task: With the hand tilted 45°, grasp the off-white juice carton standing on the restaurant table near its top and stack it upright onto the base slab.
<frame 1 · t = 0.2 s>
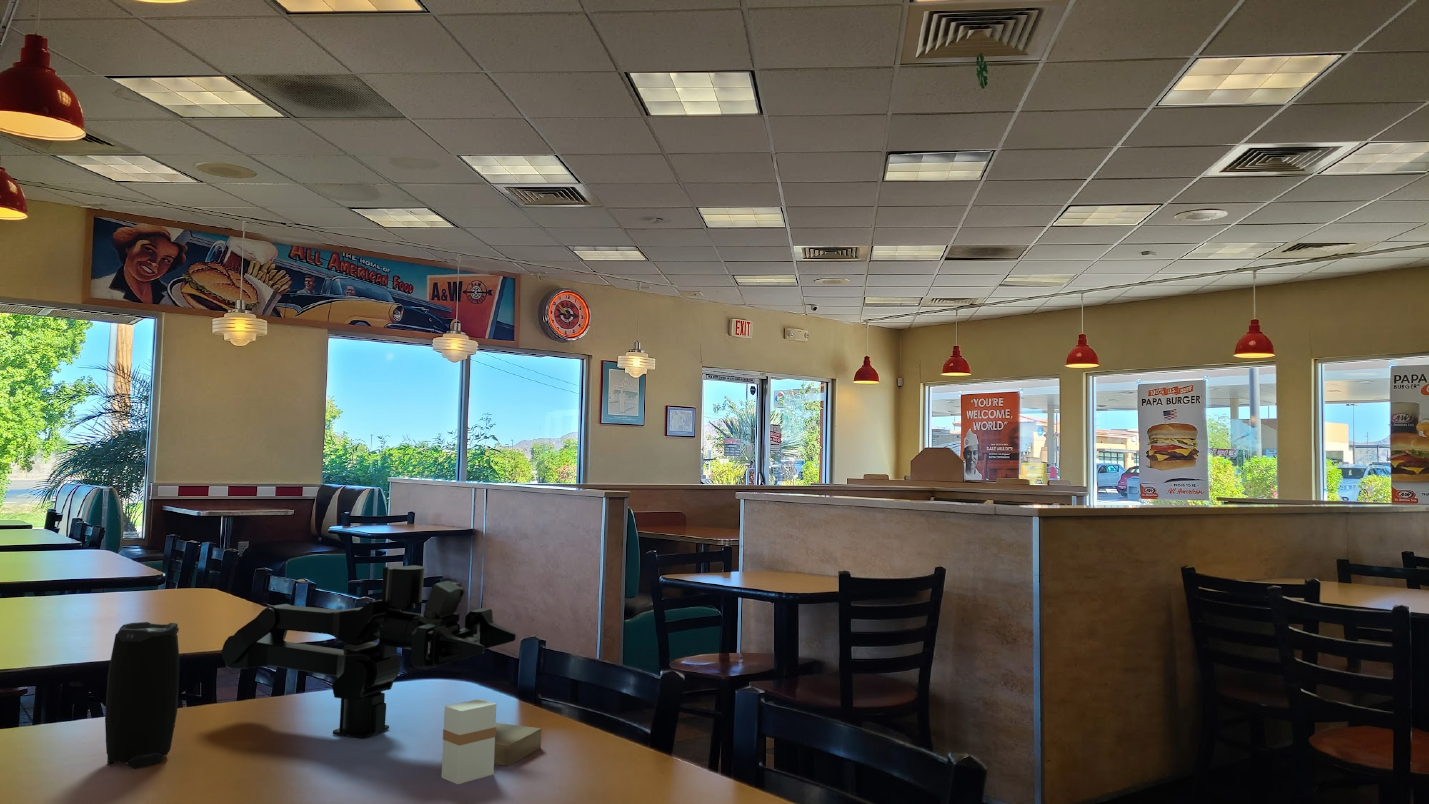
hand: (499, 643, 148), 17 cm above the table, tool horizontal, fingers open, 9 cm apart
carton: (467, 776, 135), on the table
base: (496, 752, 146), on the table
portable speaker: (138, 762, 137), on the table
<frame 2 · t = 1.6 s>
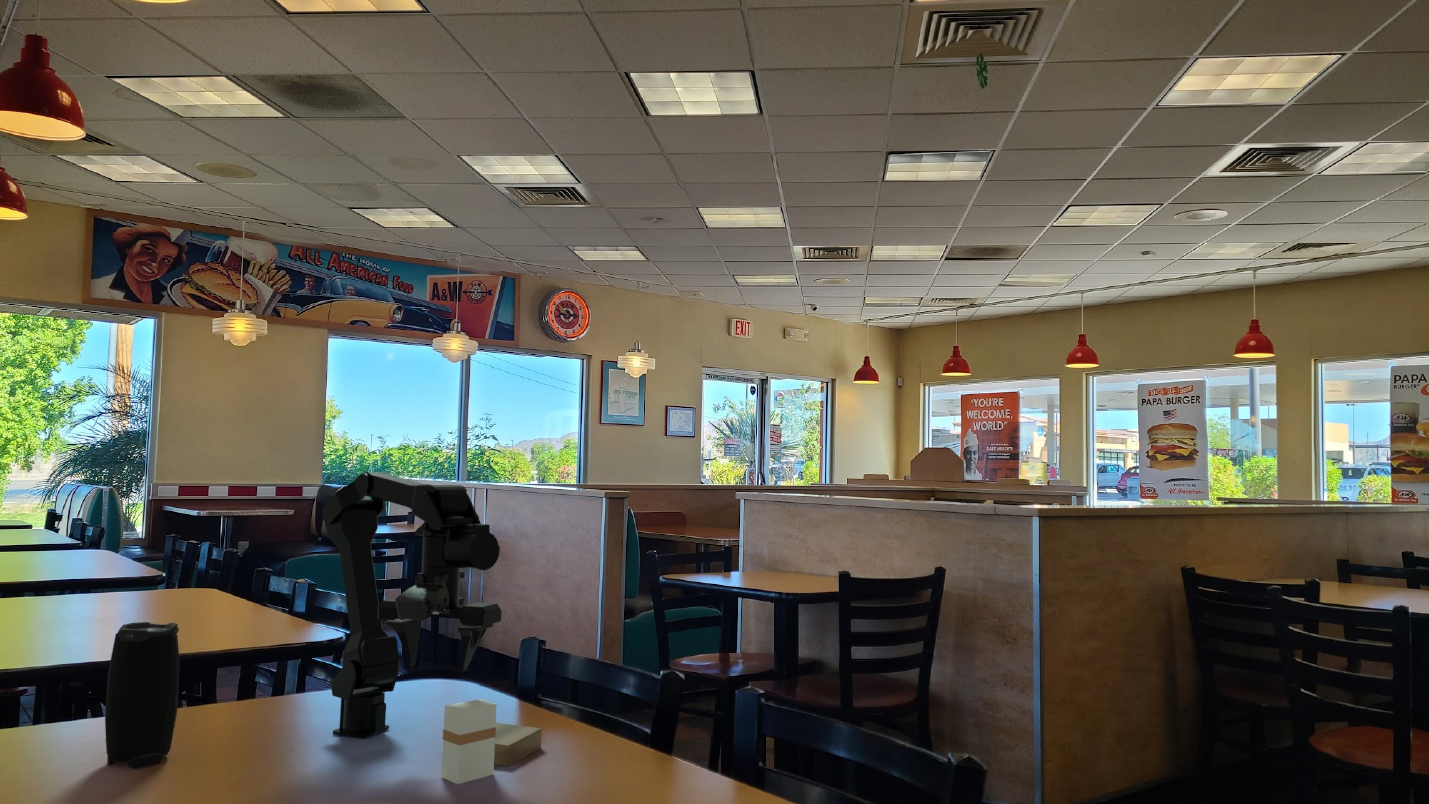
hand: (437, 668, 145), 13 cm above the table, tool pointing down, fingers open, 9 cm apart
nothing on the table moved.
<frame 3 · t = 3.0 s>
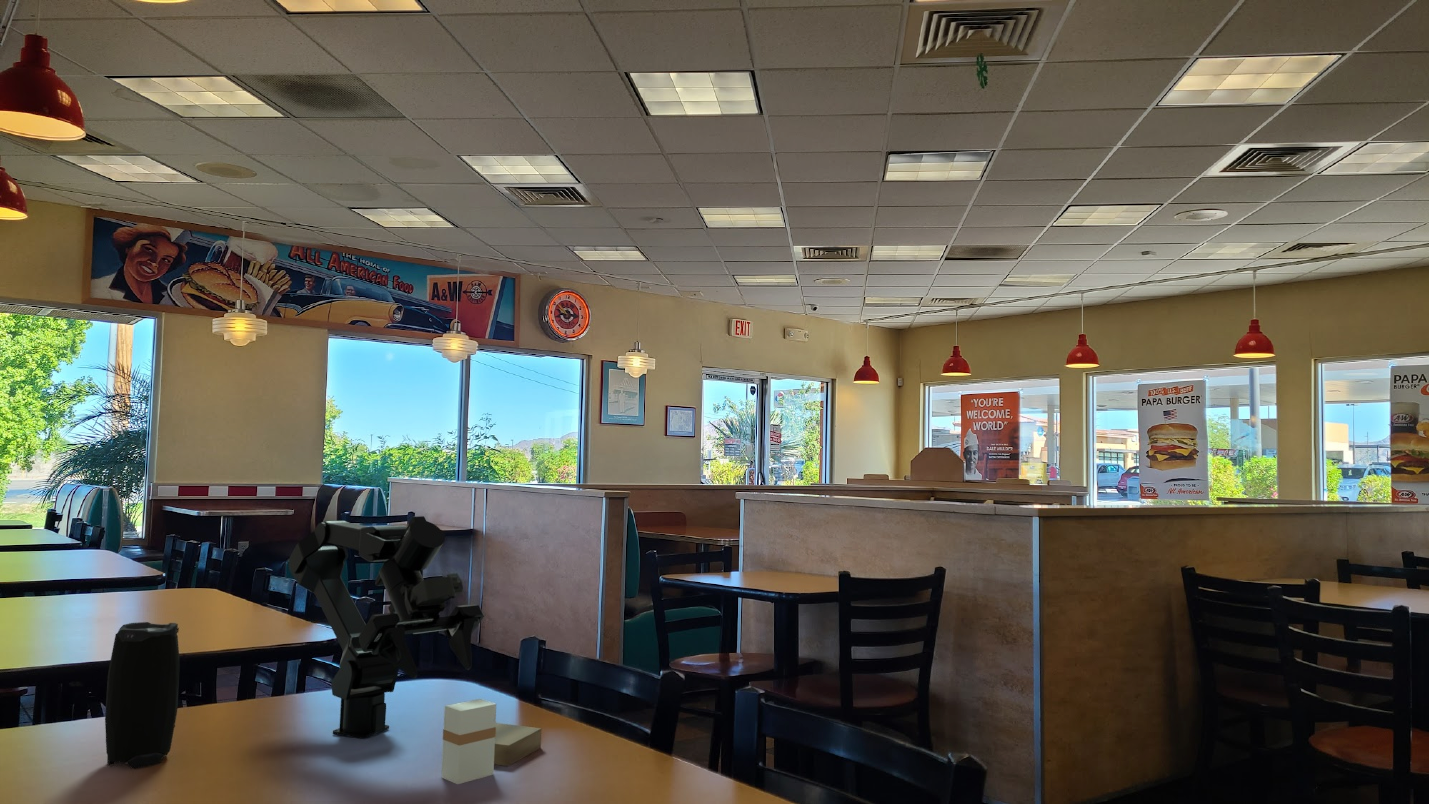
hand: (443, 672, 141), 13 cm above the table, tool tilted 45°, fingers open, 9 cm apart
nothing on the table moved.
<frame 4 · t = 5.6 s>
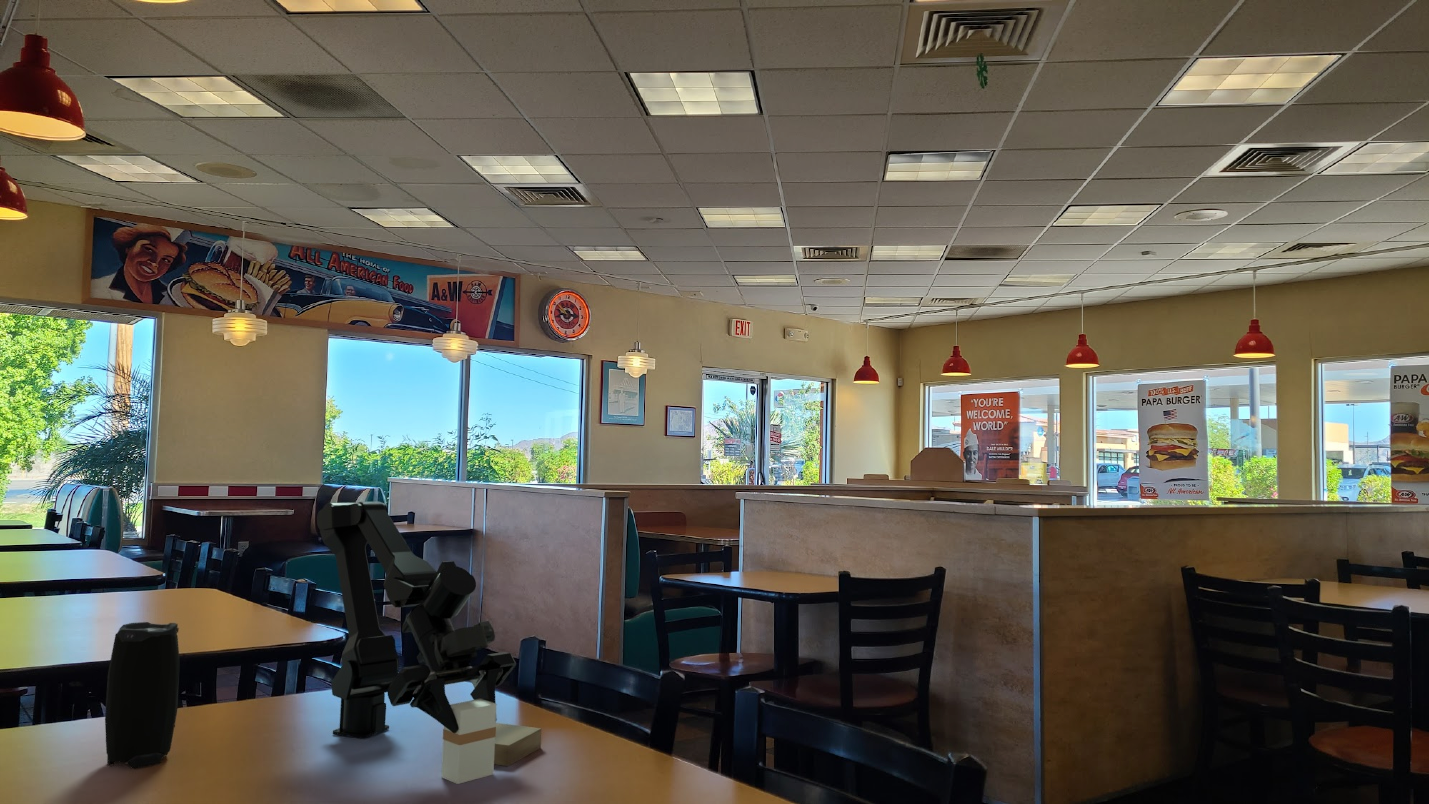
hand: (475, 727, 135), 7 cm above the table, tool tilted 45°, fingers closed on carton, 6 cm apart
carton: (467, 775, 135), on the table, touching gripper
everything else where it was.
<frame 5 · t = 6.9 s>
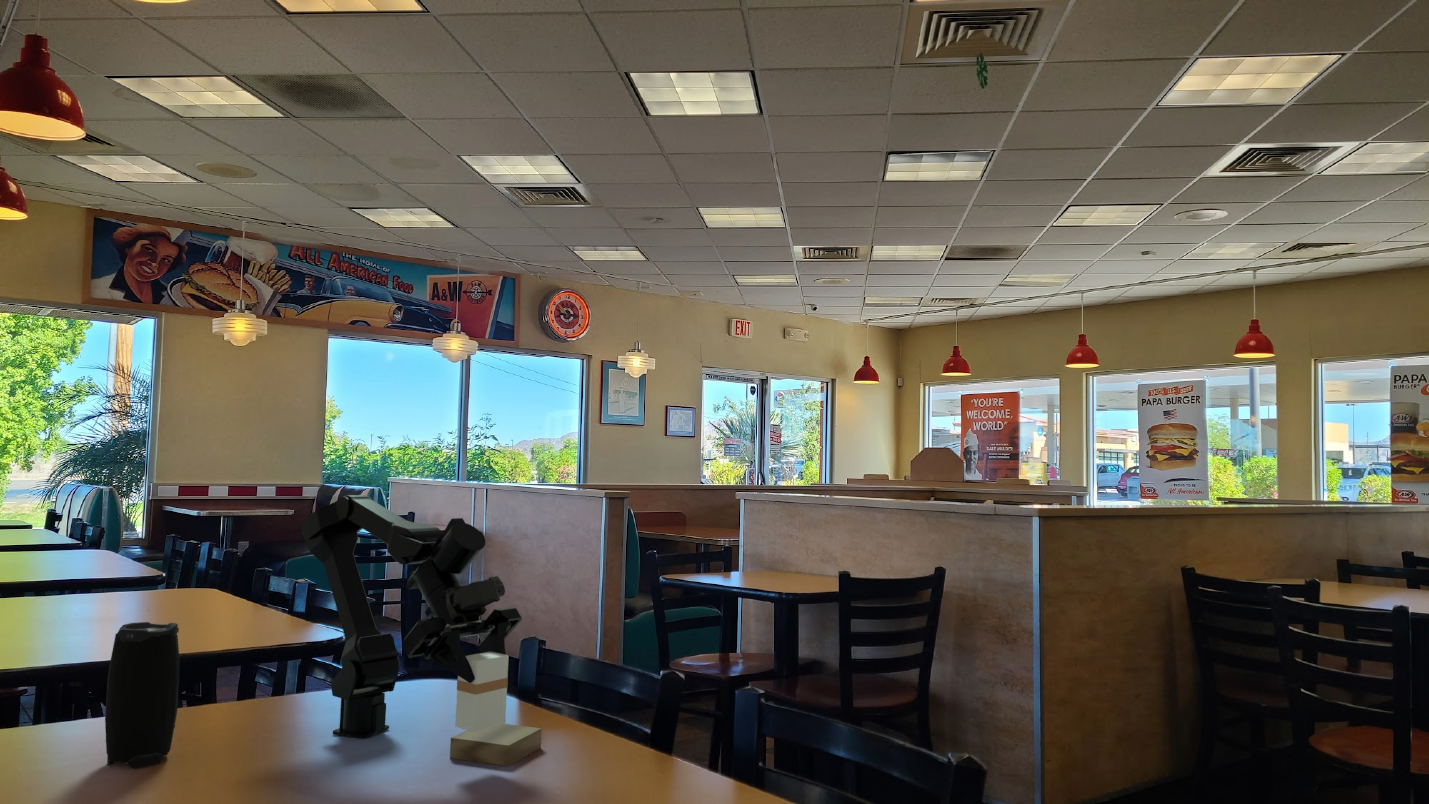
hand: (489, 677, 139), 13 cm above the table, tool tilted 45°, fingers closed on carton, 6 cm apart
carton: (480, 725, 139), point 6 cm above the table, touching gripper
everything else where it was.
when the fingers open (11 cm above the table, at t = 8.3 s): carton stays where it is, resting on base.
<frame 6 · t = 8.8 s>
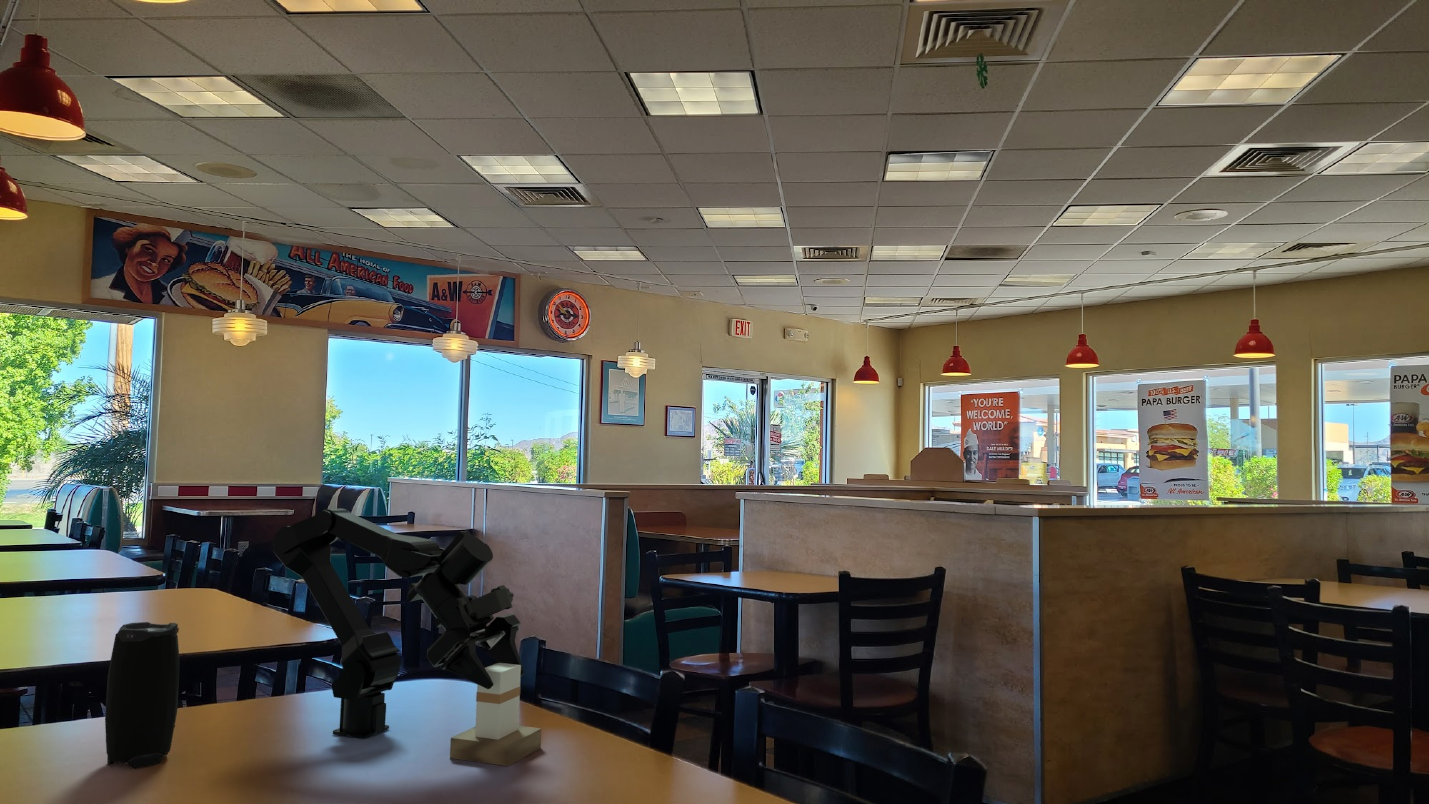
hand: (507, 681, 146), 11 cm above the table, tool tilted 45°, fingers open, 9 cm apart
carton: (497, 733, 146), point 3 cm above the table, touching base
everything else where it was.
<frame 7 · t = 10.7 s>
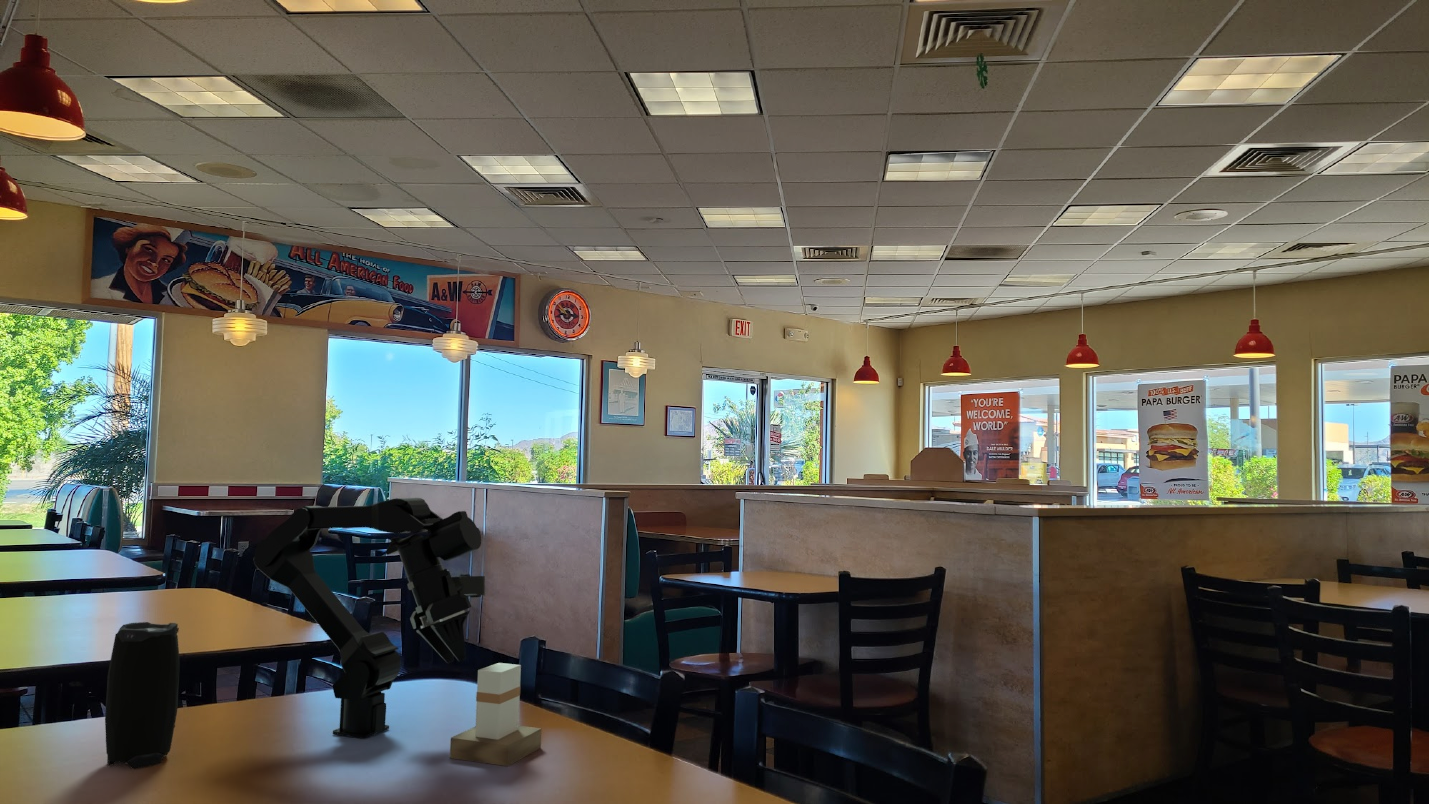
hand: (456, 661, 153), 12 cm above the table, tool tilted 25°, fingers open, 9 cm apart
nothing on the table moved.
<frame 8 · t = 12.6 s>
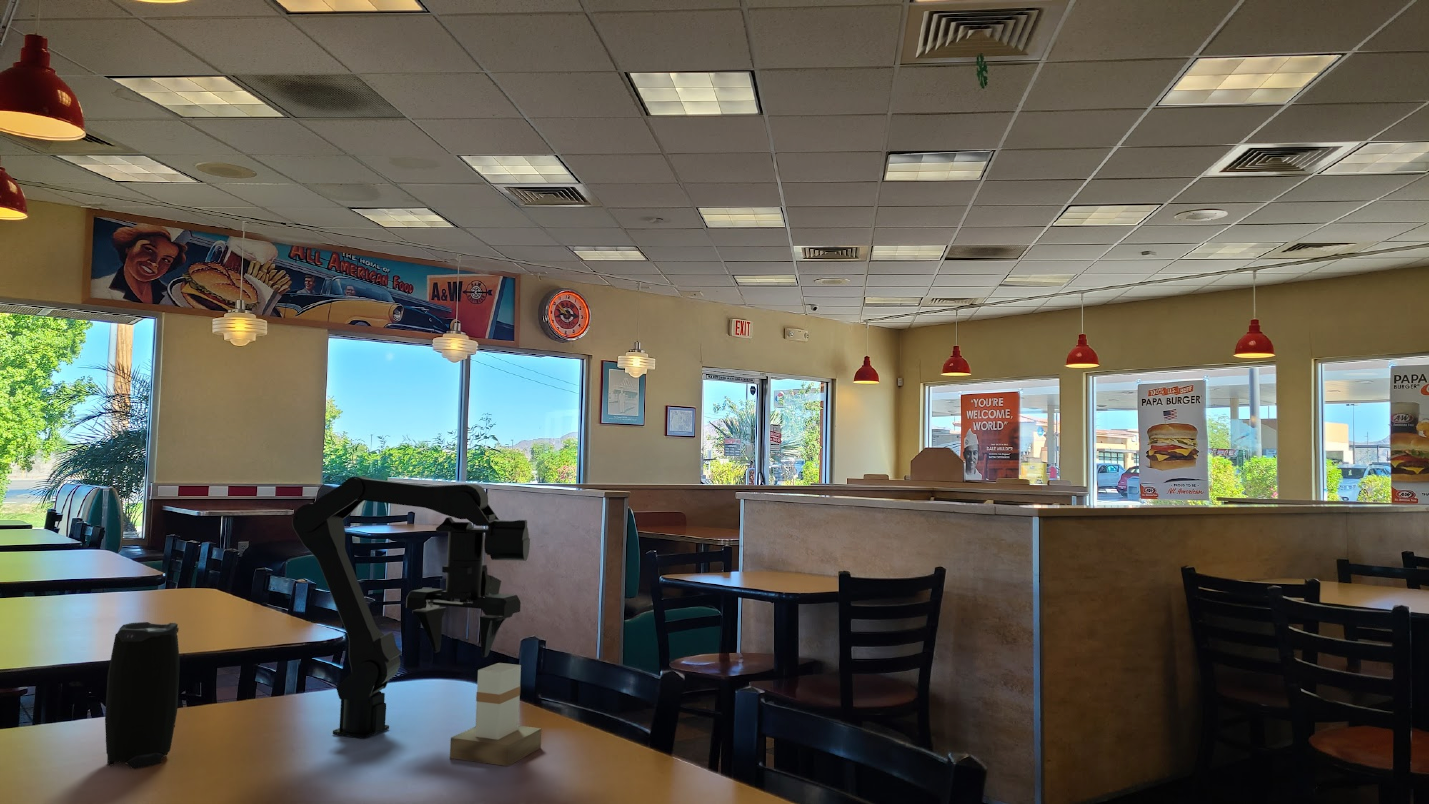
hand: (460, 654, 156), 13 cm above the table, tool pointing down, fingers open, 9 cm apart
nothing on the table moved.
at the end: carton inside the target area on the base (0.0 cm from its centre), point 3.0 cm above the base's base; carton tilted 0°; the gripper is holding nothing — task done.
